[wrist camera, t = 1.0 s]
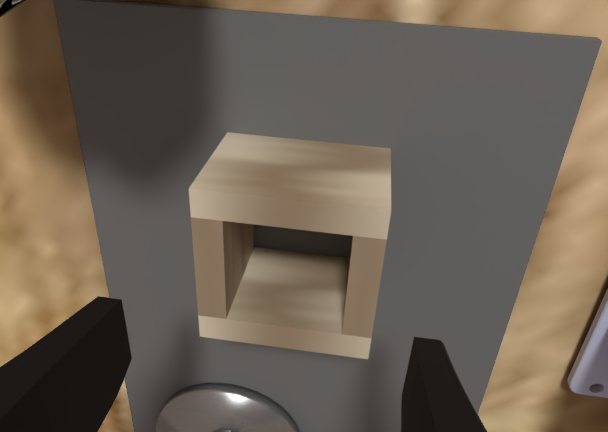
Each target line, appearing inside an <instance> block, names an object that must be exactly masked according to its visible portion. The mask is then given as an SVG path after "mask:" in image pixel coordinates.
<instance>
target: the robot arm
mask: <svg viewBox="0 0 608 432" xmlns="http://www.w3.org/2000/svg"><path fill="white" fill-rule="evenodd" d="M131 359H132V356H131V350H130V344H129V339H128V333H127V327H126V321H125V316H124V310H123V304H122V299H114V298H106V297H97V298H96V299H94V300H93V301H91V302H90V303H89V304H87V305H86V306H85V307H83V308H82V309H81V310H79V311H78V312H77V313H75V314H74V315H73V316H71V317H70V318H69V319H67V320H66V321H65V322H63V323H62V324H61V325H59V326H58V327H57V328H55V329H54V330H53V331H51V332H50V333H48V334H47V335H46V336H44V337H43V338H42V339H40V340H39V341H38V342H36V343H35V344H33V345H32V346H31V347H29V348H28V349H27V350H25V351H24V352H22V353H21V354H19V355H18V356H16V357H15V358H13V359H12V360H10V361H9V362H7V363H6V364H4V365H3V366H1V367H0V432H97V431H98V430H99V428H100V426H101V424H102V422H103V421H104V419H105V417H106V415H107V413H108V411H109V410H110V408H111V406H112V404H113V402H114V400H115V399H116V397H117V394H118V392H119V390H120V387H121V385H122V383H123V380H124V378H125V375H126V372H127V370H128V367H129V365H130V362H131ZM567 382H568V385H569V387H570V389H571V391H573V392H574V393H577V394H582V395H589V396H596V397H604V398H608V289H607V291H606V293H605V295H604V298H603V300H602V302H601V304H600V307H599V309H598V311H597V313H596V316H595V318H594V320H593V322H592V325H591V327H590V329H589V331H588V334H587V336H586V338H585V340H584V343H583V345H582V347H581V349H580V352H579V354H578V356H577V358H576V361H575V363H574V365H573V367H572V370H571V372H570V374H569V376H568V380H567ZM593 384H596V385H593ZM401 432H487V431H486V429H485V427H484V425H483V424H482V422H481V420H480V418H479V416H478V415H477V413H476V411H475V409H474V407H473V405H472V404H471V402H470V400H469V398H468V396H467V394H466V392H465V390H464V388H463V386H462V384H461V382H460V380H459V378H458V376H457V374H456V371H455V369H454V367H453V365H452V363H451V360H450V358H449V356H448V353H447V351H446V348H445V346H444V344H443V343H442V341H441V340H436V339H428V338H420V337H414V340H413V344H412V349H411V354H410V358H409V363H408V368H407V373H406V377H405V382H404V387H403V391H402V402H401Z"/></svg>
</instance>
